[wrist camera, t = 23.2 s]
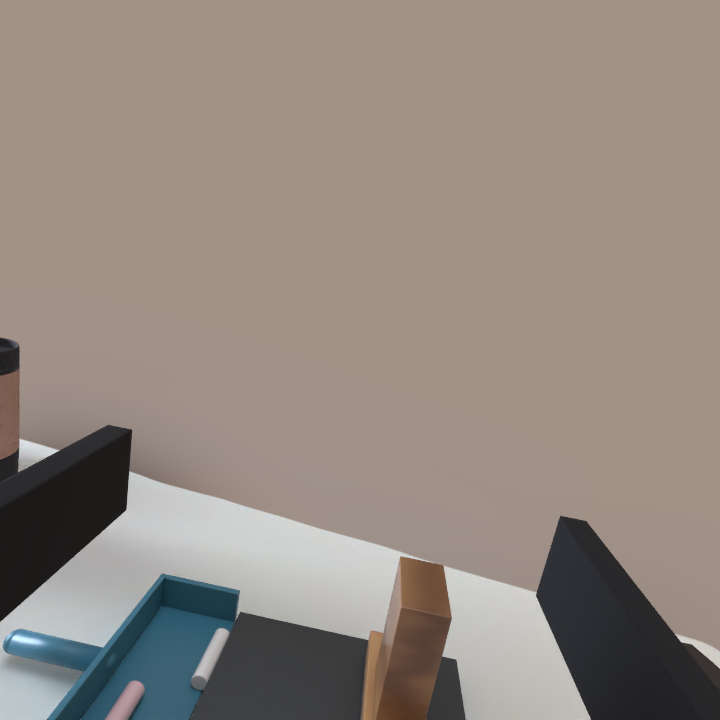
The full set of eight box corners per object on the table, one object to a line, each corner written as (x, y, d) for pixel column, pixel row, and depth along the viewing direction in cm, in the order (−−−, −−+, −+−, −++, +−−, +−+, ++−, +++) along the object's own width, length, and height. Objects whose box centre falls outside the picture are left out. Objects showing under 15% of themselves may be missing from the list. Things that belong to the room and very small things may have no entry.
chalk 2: (208, 677, 33) (207, 692, 33) (231, 629, 37) (229, 642, 38) (190, 674, 33) (189, 689, 33) (215, 626, 37) (214, 639, 38)
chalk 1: (101, 745, 27) (106, 763, 28) (142, 679, 32) (147, 695, 32) (80, 746, 27) (86, 764, 28) (125, 680, 32) (130, 696, 32)
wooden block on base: (351, 825, 26) (390, 653, 23) (365, 653, 38) (392, 526, 35) (423, 843, 26) (471, 671, 23) (415, 665, 37) (446, 538, 35)
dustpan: (236, 620, 40) (240, 590, 40) (134, 838, 25) (138, 794, 24) (80, 585, 41) (82, 555, 40) (-114, 775, 26) (-116, 731, 25)
